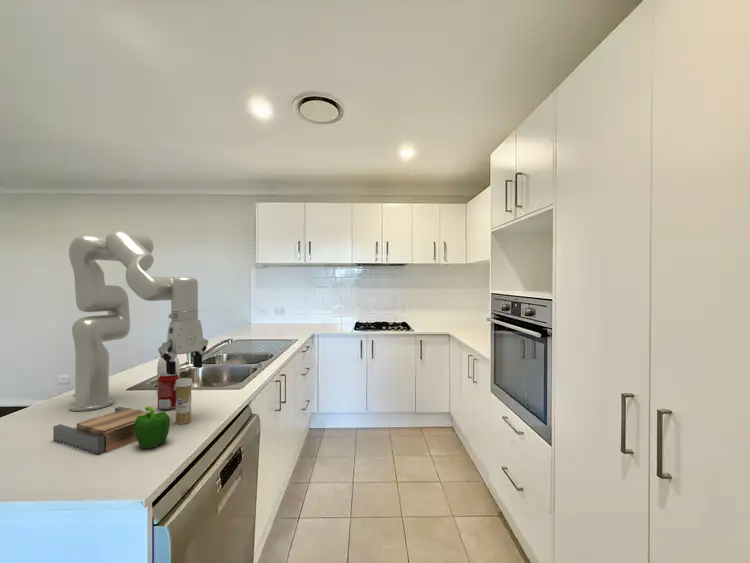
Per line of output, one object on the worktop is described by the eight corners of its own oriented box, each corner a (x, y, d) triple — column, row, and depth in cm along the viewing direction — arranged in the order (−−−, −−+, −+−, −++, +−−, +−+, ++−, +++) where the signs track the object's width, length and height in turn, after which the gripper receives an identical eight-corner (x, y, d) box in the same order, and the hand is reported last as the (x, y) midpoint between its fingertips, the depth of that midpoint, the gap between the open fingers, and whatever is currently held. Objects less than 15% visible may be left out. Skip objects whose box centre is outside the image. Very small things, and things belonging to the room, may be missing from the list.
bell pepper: (173, 445, 101) (173, 408, 101) (137, 454, 96) (138, 415, 96) (165, 435, 108) (166, 400, 108) (131, 443, 102) (132, 406, 102)
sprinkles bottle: (173, 424, 115) (173, 381, 115) (178, 419, 120) (178, 377, 120) (189, 424, 116) (189, 380, 116) (193, 418, 121) (193, 377, 121)
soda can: (169, 411, 127) (170, 376, 127) (152, 410, 128) (153, 375, 128) (183, 405, 134) (184, 371, 134) (167, 403, 135) (167, 370, 135)
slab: (76, 432, 102) (76, 423, 102) (128, 415, 115) (128, 408, 115) (103, 440, 97) (103, 431, 97) (154, 422, 110) (154, 413, 110)
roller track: (53, 440, 103) (53, 422, 103) (120, 419, 120) (120, 403, 120) (98, 455, 95) (98, 435, 95) (163, 429, 111) (163, 413, 111)
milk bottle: (183, 391, 151) (184, 341, 151) (167, 396, 143) (167, 344, 143) (169, 389, 153) (169, 340, 153) (152, 394, 146) (152, 343, 146)
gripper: (168, 319, 109) (168, 378, 108) (215, 314, 124) (215, 366, 124) (150, 318, 112) (150, 375, 111) (199, 314, 127) (199, 364, 127)
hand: (184, 370), depth 118 cm, fingers open, 9 cm apart
